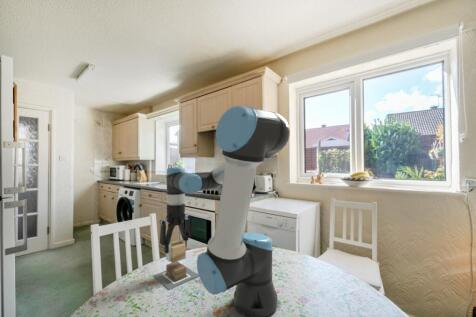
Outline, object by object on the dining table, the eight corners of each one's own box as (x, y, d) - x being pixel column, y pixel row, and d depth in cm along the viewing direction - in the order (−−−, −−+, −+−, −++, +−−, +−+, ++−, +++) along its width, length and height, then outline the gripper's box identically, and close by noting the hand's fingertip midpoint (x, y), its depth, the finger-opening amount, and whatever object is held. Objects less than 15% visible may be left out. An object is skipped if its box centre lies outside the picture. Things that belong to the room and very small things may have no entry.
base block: (186, 276, 91) (186, 267, 91) (175, 281, 88) (175, 271, 88) (176, 269, 97) (176, 261, 97) (166, 274, 94) (166, 264, 94)
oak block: (185, 258, 93) (185, 244, 93) (172, 263, 89) (172, 248, 88) (178, 253, 97) (178, 240, 97) (165, 258, 93) (165, 244, 93)
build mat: (199, 276, 92) (199, 275, 92) (168, 290, 83) (168, 289, 83) (182, 265, 102) (182, 264, 102) (153, 276, 93) (153, 275, 93)
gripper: (190, 199, 102) (190, 248, 102) (150, 205, 89) (150, 262, 89) (199, 201, 97) (199, 253, 97) (158, 208, 83) (158, 268, 83)
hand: (175, 257), depth 93 cm, fingers closed on oak block, 6 cm apart
